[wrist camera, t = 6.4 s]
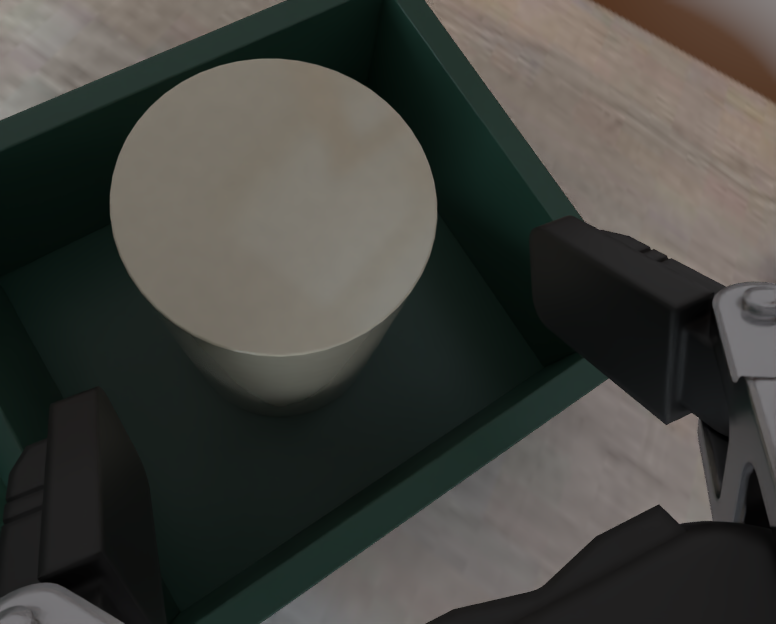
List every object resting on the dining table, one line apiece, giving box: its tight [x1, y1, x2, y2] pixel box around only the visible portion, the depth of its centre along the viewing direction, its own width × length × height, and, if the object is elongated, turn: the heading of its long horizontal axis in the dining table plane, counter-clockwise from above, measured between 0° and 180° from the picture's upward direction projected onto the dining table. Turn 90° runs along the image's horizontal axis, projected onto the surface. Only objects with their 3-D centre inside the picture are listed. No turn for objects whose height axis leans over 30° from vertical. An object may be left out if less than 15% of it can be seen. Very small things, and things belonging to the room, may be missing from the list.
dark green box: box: [0, 0, 608, 624], centre depth 19 cm, size 16×14×7 cm
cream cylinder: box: [110, 59, 437, 417], centre depth 17 cm, size 6×6×10 cm
